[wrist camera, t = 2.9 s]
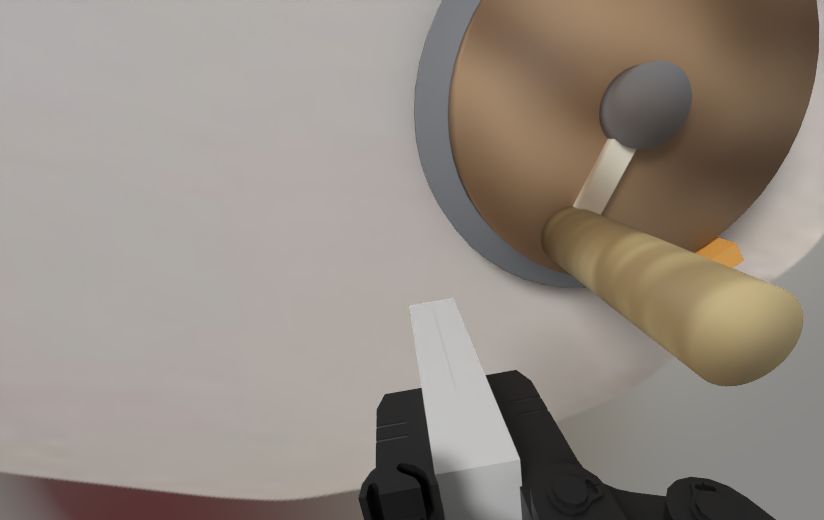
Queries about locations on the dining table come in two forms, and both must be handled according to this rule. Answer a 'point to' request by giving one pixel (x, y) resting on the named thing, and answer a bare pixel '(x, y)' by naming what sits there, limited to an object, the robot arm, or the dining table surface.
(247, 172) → the dining table surface
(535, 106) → the dial
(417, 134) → the dial base
